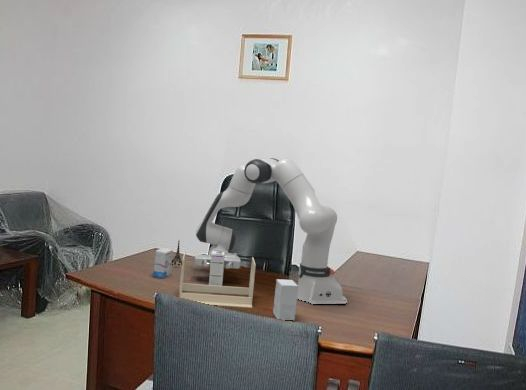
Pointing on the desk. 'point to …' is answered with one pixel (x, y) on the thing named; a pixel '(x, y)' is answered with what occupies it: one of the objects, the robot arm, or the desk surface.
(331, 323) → the desk surface
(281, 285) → the small box
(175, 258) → the eiffel tower figurine
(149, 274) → the desk surface
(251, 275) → the wooden rack
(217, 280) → the syrup box
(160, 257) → the ink box
